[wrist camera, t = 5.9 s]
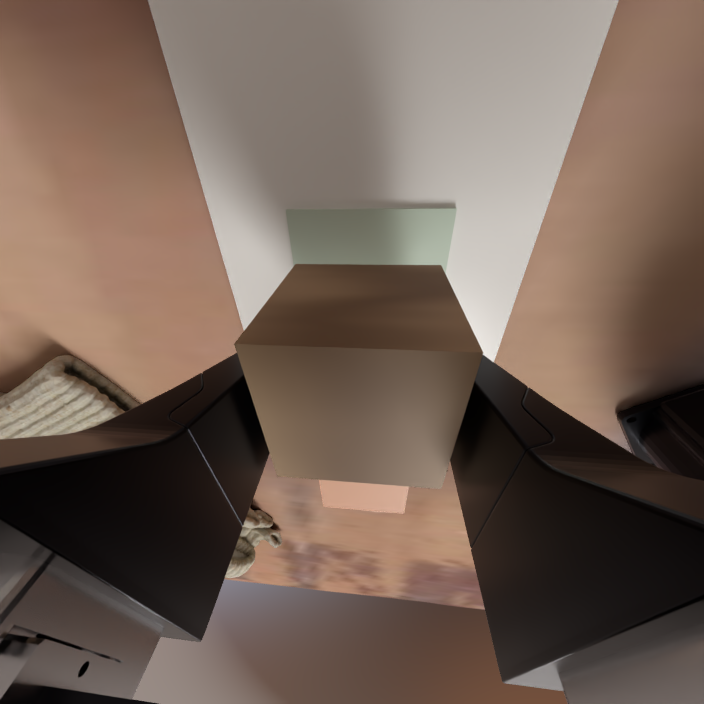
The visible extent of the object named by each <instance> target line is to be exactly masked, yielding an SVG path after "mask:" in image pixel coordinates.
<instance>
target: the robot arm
mask: <svg viewBox="0 0 704 704" xmlns="http://www.w3.org/2000/svg"><path fill="white" fill-rule="evenodd" d="M617 419H618V421H619V423H620V426H621V428H622V430H623V433H624V435H625V437H626V439H627V442H628V444H629V446H630V449H631V451H632V453H633V454H632V453H630V452H629V451H627V450H625V449H624V448H622V447H621V446H619V445H617V444H616V443H614V442H612V441H611V440H609V439H608V438H606V437H604V436H603V435H601V434H599V433H598V432H596V431H595V430H593V429H591V428H590V427H588V426H586V425H585V424H583V423H581V422H580V421H578V420H577V419H575V418H574V417H572V416H570V415H569V414H567V413H566V412H564V411H562V410H561V409H559V408H558V407H556V406H555V405H553V404H552V403H550V402H549V401H548V400H546V399H545V398H543V397H542V396H540V395H539V394H538V393H536V392H535V391H533V390H532V389H531V388H528V387H527V386H526V385H525V384H523V383H522V382H521V381H519V380H518V379H516V378H515V377H514V376H512V375H511V374H509V373H508V372H507V371H505V370H504V369H502V368H501V367H500V366H498V365H497V364H495V363H494V362H493V361H491V360H490V359H488V358H487V357H486V356H484V355H482V358H481V362H480V365H479V368H478V371H477V375H476V378H475V381H474V384H473V388H472V391H471V394H470V397H469V401H468V404H467V407H466V410H465V414H464V417H463V420H462V423H461V426H460V430H459V433H458V436H457V439H456V443H455V446H454V449H453V452H452V456H451V459H450V462H451V466H452V470H453V475H454V479H455V483H456V487H457V492H458V496H459V500H460V504H461V509H462V513H463V517H464V521H465V526H466V530H467V534H468V538H469V543H470V547H471V548H472V549H471V552H472V556H473V560H474V564H475V569H476V573H477V577H478V581H479V586H480V590H481V594H482V599H483V603H484V607H485V611H486V615H487V620H488V624H489V628H490V632H491V637H492V640H493V645H494V649H495V654H496V658H497V662H498V667H499V671H500V674H501V678H502V681H503V683H508V684H515V685H523V686H530V687H537V688H545V689H552V690H560V691H564V694H565V696H566V699H567V703H568V704H704V385H702V386H698V387H695V388H692V389H689V390H686V391H683V392H680V393H677V394H674V395H670V396H667V397H664V398H661V399H658V400H655V401H652V402H649V403H646V404H642V405H639V406H636V407H633V408H630V409H627V410H624V411H622V412H620V413H619V414H618V415H617ZM269 453H270V452H269V449H268V446H267V443H266V440H265V437H264V434H263V431H262V428H261V425H260V422H259V419H258V416H257V412H256V409H255V406H254V403H253V400H252V397H251V394H250V391H249V388H248V385H247V382H246V379H245V376H244V372H243V369H242V366H241V363H240V360H239V357H238V354H237V353H236V354H234V355H232V356H230V357H229V358H227V359H225V360H223V361H221V362H220V363H218V364H216V365H214V366H213V367H211V368H209V369H207V370H206V371H204V372H203V374H202V373H200V374H198V375H197V376H195V377H193V378H191V379H190V380H188V381H186V382H184V383H182V384H180V385H178V386H177V387H175V388H173V389H171V390H169V391H167V392H165V393H163V394H161V395H159V396H157V397H155V398H153V399H151V400H149V401H147V402H145V403H143V404H141V405H138V406H136V407H134V408H132V409H130V410H128V411H126V412H124V413H122V414H120V415H118V416H116V417H114V418H112V419H110V420H108V421H106V422H103V423H101V424H99V425H97V426H94V427H91V428H88V429H86V430H82V431H78V432H74V433H69V434H62V435H50V436H38V437H25V438H13V439H0V704H157V703H151V702H144V701H138V700H132V698H133V696H134V694H135V692H136V689H137V687H138V685H139V683H140V681H141V678H142V676H143V674H144V672H145V670H146V668H147V665H148V663H149V661H150V659H151V657H152V654H153V652H154V650H155V648H156V646H157V644H158V641H159V639H160V637H167V638H174V639H182V640H189V641H196V642H201V640H202V638H203V636H204V633H205V631H206V628H207V625H208V622H209V620H210V617H211V614H212V611H213V609H214V606H215V603H216V600H217V598H218V595H219V592H220V589H221V586H222V584H223V581H224V578H225V575H226V573H227V570H228V567H229V564H230V562H231V559H232V556H233V553H234V550H235V548H236V545H237V542H238V539H239V537H240V534H241V531H242V526H243V525H244V522H245V520H246V517H247V514H248V511H249V508H250V506H251V503H252V500H253V497H254V495H255V492H256V489H257V486H258V484H259V481H260V478H261V475H262V473H263V470H264V467H265V464H266V461H267V459H268V456H269Z"/></svg>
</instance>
